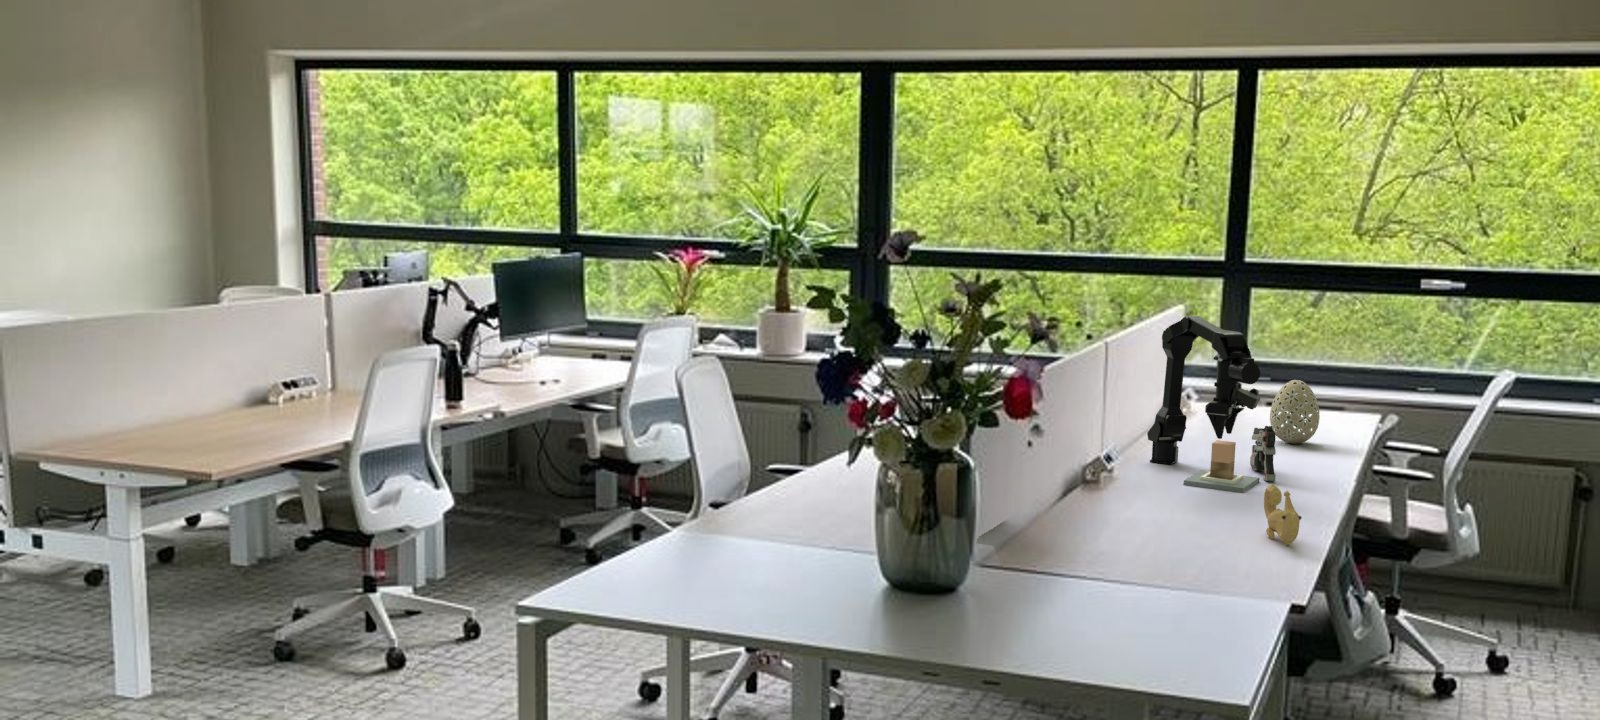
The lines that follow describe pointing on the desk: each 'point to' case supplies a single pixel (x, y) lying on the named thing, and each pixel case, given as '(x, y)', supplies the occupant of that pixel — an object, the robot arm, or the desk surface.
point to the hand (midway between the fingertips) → (1224, 436)
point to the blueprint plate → (1221, 482)
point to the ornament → (1294, 413)
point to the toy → (1280, 515)
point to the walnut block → (1222, 470)
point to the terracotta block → (1223, 451)
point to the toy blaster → (1264, 452)
